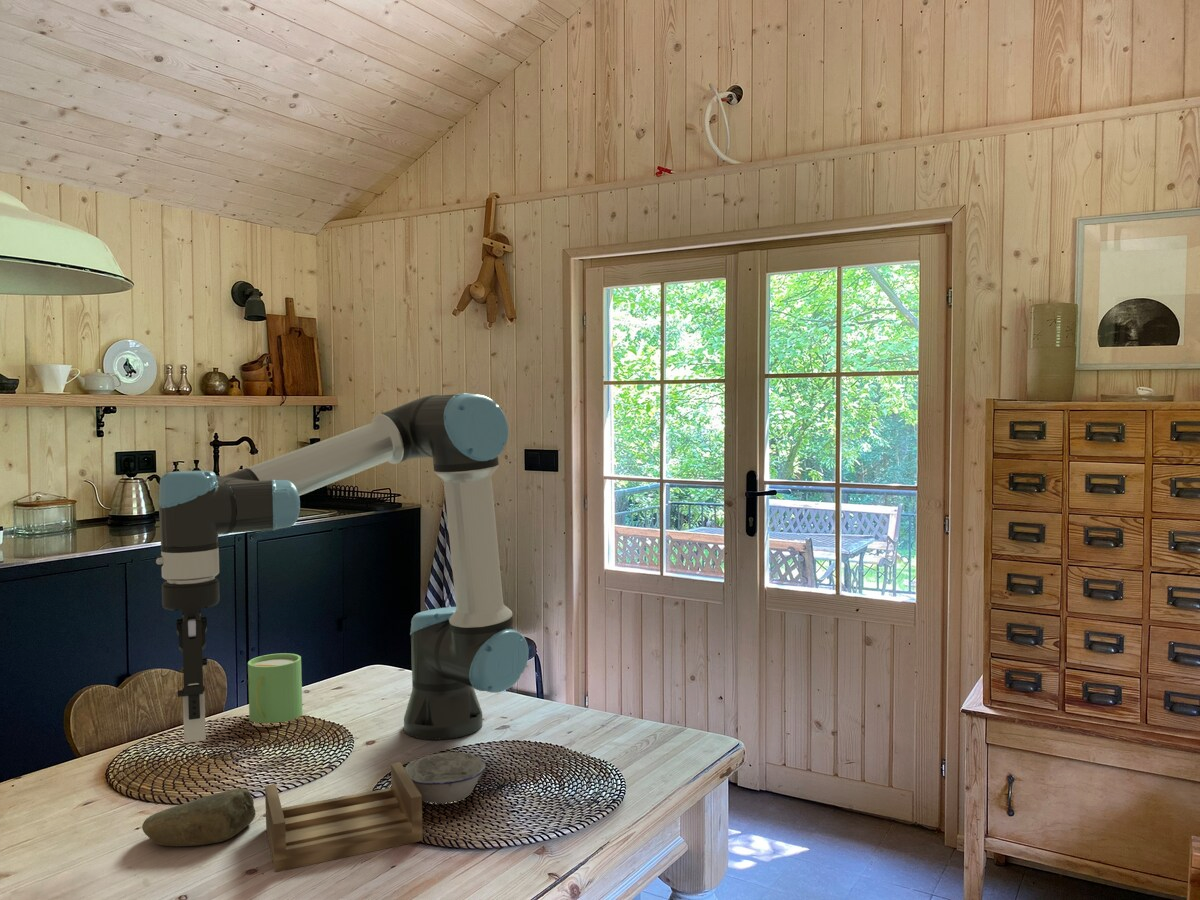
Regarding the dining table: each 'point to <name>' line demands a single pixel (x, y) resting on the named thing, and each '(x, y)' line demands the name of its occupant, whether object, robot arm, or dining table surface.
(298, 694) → the mug
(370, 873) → the dining table surface
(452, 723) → the robot arm
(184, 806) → the stone
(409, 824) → the rack
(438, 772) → the bowl
